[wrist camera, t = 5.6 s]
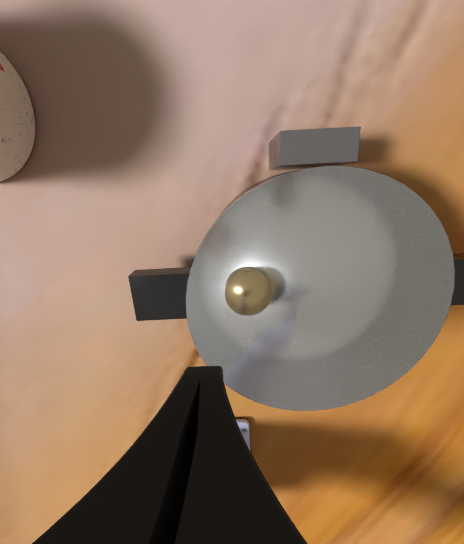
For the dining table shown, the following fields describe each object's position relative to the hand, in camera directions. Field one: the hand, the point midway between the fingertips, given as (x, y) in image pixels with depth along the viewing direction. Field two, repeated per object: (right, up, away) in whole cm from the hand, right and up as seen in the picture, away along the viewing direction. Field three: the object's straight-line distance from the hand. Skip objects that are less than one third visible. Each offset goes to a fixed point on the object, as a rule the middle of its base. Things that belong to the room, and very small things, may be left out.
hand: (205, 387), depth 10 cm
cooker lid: (+6, +3, +6) cm, 9 cm away
